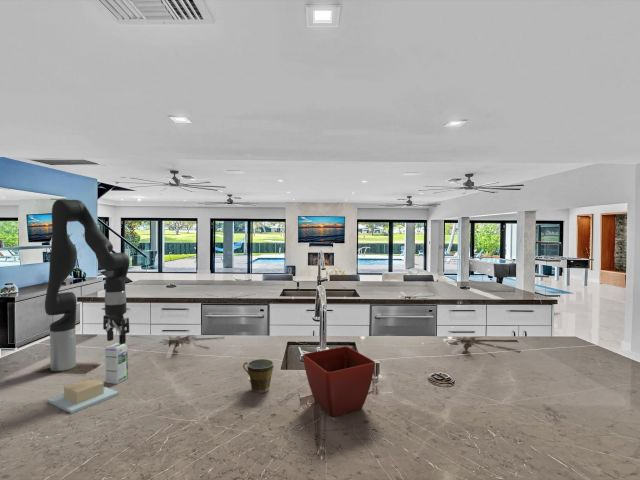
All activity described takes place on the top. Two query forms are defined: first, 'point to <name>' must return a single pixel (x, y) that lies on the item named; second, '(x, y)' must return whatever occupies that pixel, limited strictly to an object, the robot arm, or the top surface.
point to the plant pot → (339, 379)
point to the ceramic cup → (259, 374)
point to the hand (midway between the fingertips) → (116, 342)
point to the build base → (83, 404)
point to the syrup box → (116, 363)
